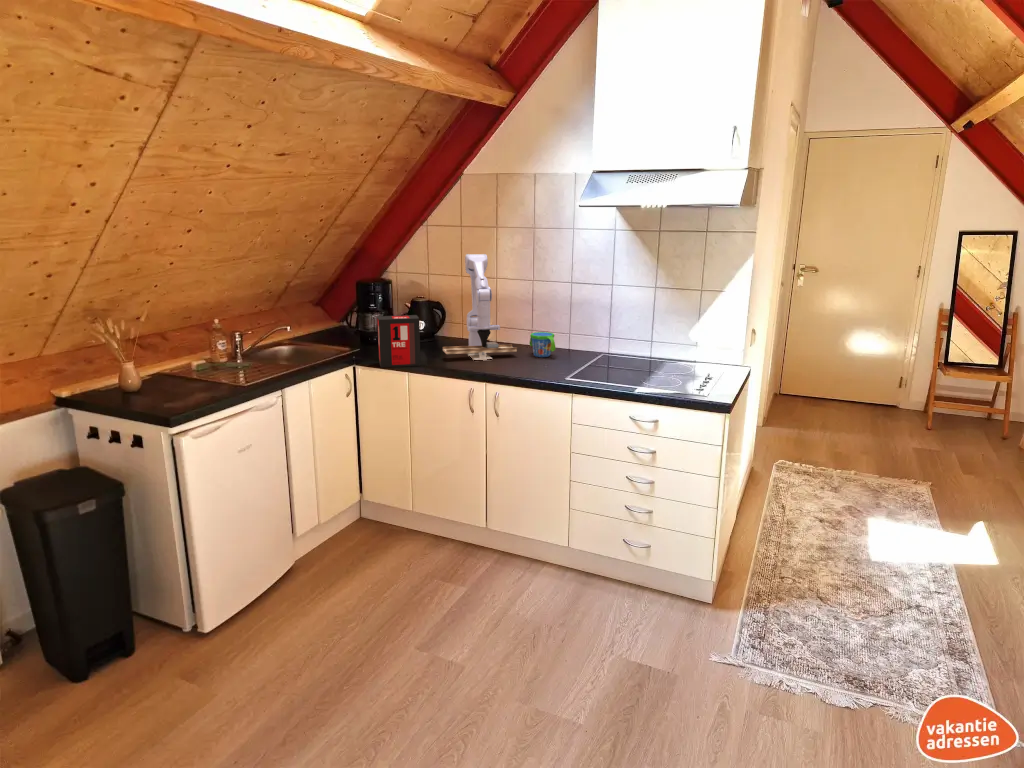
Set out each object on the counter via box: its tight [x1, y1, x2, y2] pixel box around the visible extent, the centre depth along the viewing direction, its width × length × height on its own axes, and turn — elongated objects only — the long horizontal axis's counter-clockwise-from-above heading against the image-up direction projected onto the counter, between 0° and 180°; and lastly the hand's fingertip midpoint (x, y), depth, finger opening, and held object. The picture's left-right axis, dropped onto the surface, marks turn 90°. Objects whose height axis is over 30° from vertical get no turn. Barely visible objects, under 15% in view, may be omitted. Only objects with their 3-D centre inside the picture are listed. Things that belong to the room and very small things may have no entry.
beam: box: [442, 344, 518, 355], centre depth 294 cm, size 32×7×2 cm, turn 109°
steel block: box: [484, 341, 499, 348], centre depth 295 cm, size 5×5×2 cm
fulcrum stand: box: [467, 352, 493, 361], centre depth 295 cm, size 11×8×4 cm
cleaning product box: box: [376, 314, 421, 368], centre depth 280 cm, size 16×9×20 cm, turn 105°
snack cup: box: [528, 331, 556, 358], centre depth 299 cm, size 16×10×10 cm
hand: (483, 346), depth 294 cm, fingers closed
